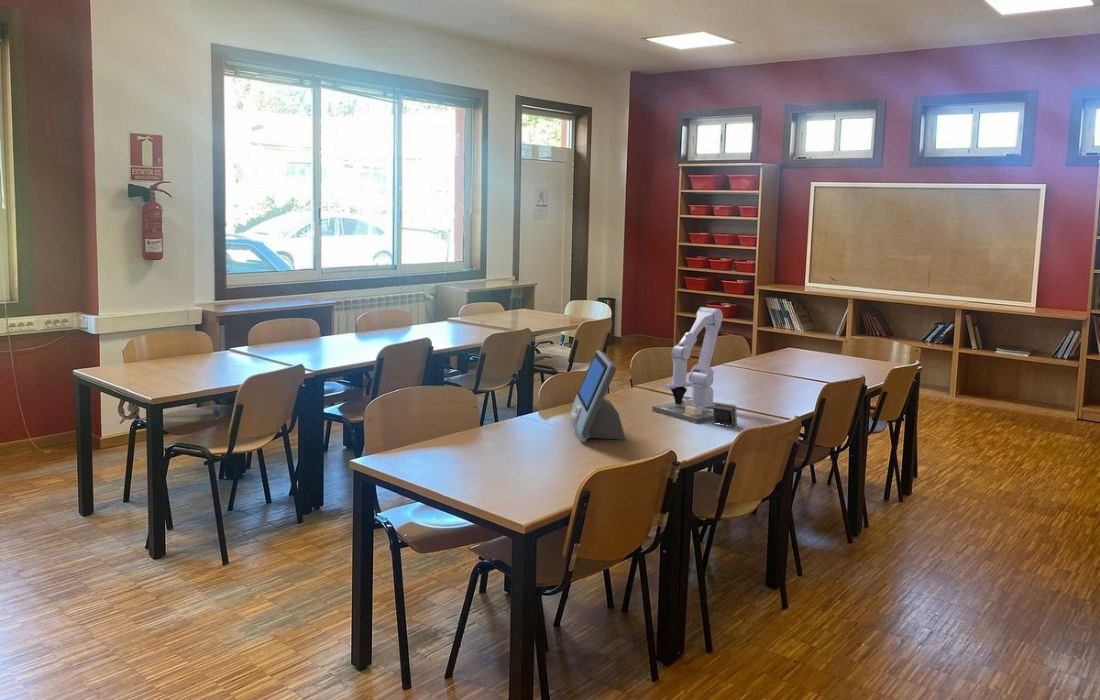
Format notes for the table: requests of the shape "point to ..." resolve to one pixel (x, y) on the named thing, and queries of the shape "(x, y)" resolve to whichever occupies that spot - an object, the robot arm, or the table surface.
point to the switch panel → (680, 412)
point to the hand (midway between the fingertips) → (678, 404)
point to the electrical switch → (725, 414)
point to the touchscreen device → (596, 403)
